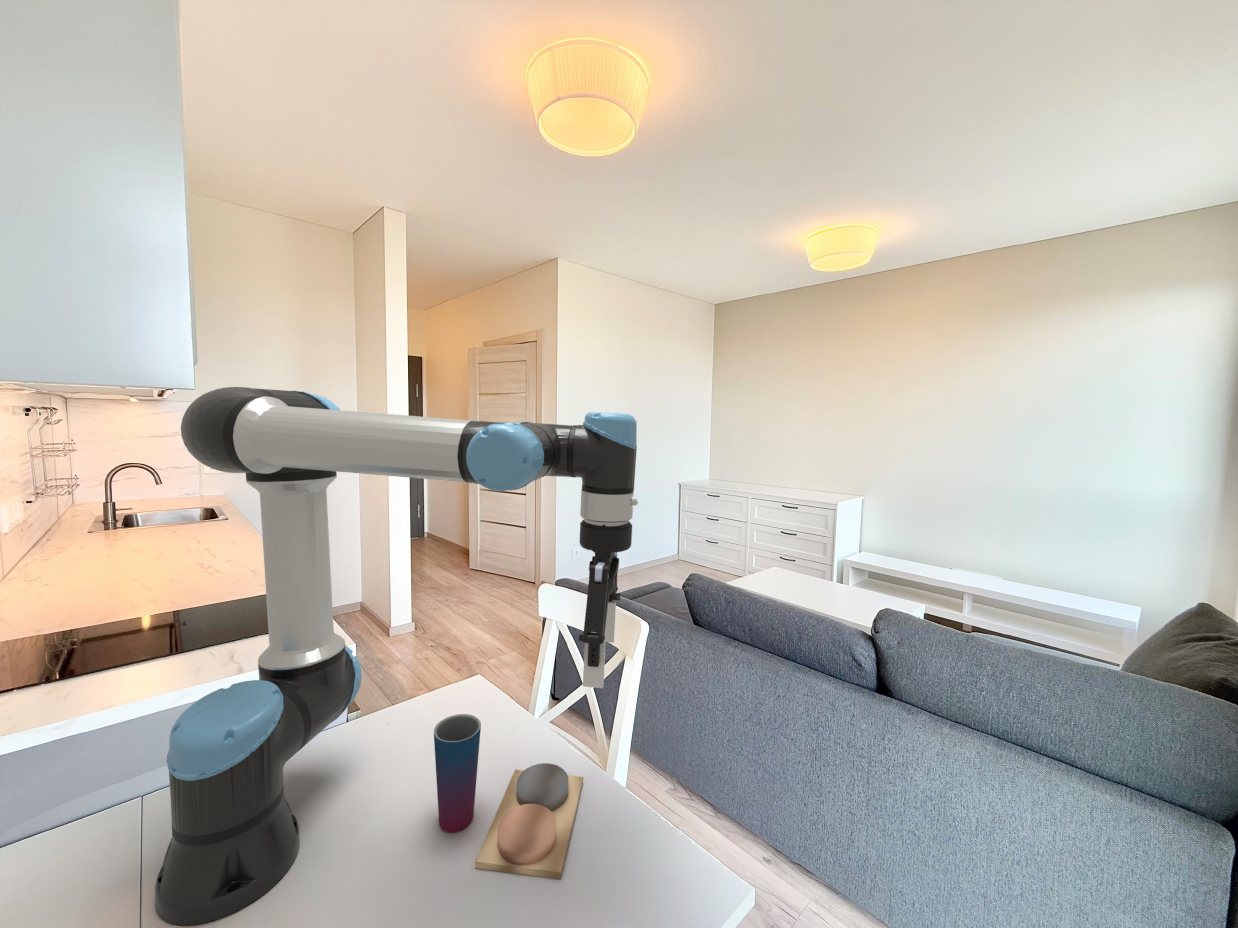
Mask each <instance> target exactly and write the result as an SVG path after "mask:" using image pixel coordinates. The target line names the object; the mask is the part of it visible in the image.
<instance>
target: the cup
mask: <svg viewBox="0 0 1238 928" xmlns="http://www.w3.org/2000/svg"><path fill="white" fill-rule="evenodd" d="M481 729H482V724H481V720H480V719H479V718H478V717H477V716H474V715H472V714H467V713H461V714H460V713H459V714H458V713H457V714H454V715H449V716H447V717H445V718H443V719H441V720H440V721H439V722H438V723H437V724H435V726H434V728H433V741H434V744H433V745H434V758H435V776H436V777H435V778H436V791H437V792H436V794H437V810H438V811H437V813H438V825H439V828H440V829H441V830H442V831H444V832H445V833H450V834H451V833H452V834H454V833H458V832H461V831H464V830H465V829H467V828H468V827H469V826H470V825H471V823H472V822H473V820H474V814H475V813H474V812H475V811H474V810H475V801H476V800H475V799H476V787H477V779H478V778H477V777H478V765H479V753H480V739H481Z"/></svg>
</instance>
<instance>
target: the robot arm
mask: <svg viewBox="0 0 1238 928" xmlns="http://www.w3.org/2000/svg"><path fill="white" fill-rule="evenodd" d="M637 425H638V424H637V420H636V418H635V417H634V416H633V415H631V414H628V413H621V412H619V413H618V412H617V413H616V412H597V411H596V412H595V411H593V412H591V411H590V412H587V413H586V414H585V416H584V420H583V423H582V424H573V425H570V424H555V423H542V422H541V423H540V422H530V421H519V422H499V421H496V422H495V421H487V420H486V421H484V420H479V421H478V420H469V419H456V418H443V417H429V416H418V415H407V414H406V415H404V414H393V413H382V412H381V413H378V412H366V411H365V412H364V411H353V410H342V409H340V407H338V406H337V405H336V404H335V403H334V402H333V401H332V400H330V399H328V398H326V397H324V396H322V395H319V394H314V393H310V392H306V391H300V390H299V391H298V390H285V389H284V390H281V389H280V390H279V389H265V388H254V387H244V386H229V387H228V386H227V387H226V386H225V387H221V388H216V389H214V390H211V391H207V392H206V393H203V394H202V395H200V396H198V397H197V398H196V399H194V400H193V401H192V402H191V403H190V404H189V406H187V408H186V410H185V412H184V414H183V416H182V419H181V424H180V434H181V438H182V441H183V444H184V446H185V448H186V450H187V451H188V452H189V454H190V455H191V456H193V458H194V459H195V460H197V461H198V462H199V463H201V464H203V466H205V467H208V468H210V469H212V470H215V471H218V472H222V473H229V474H245V481H246V483H247V484H248V486H251V487H252V488H254V490H255V491H257V492H258V494H259V502H260V503H259V504H260V519H261V534H262V550H263V551H262V553H263V565H264V580H265V583H264V584H265V594H266V595H265V596H266V610H267V611H266V612H267V614H266V615H267V627H268V642H269V644H268V645H269V646H267V648H266V649H265V650H264V651H263V652H261V654H260V655H259V656H258V659H257V667H258V669H257V670H258V679H252V680H245V681H241V682H236V683H233V684H231V685H230V686H229V687H227V688H223V687H221V688H218V689H217V690H214V691H212V692H209V693H208V694H206V695H204V696H202V697H201V698H199V699H198V700H196V701H194V703H192V704H190V706H188V707H187V708H186V709H185V710H184V711H182V713H181V715H179V717H178V718H177V719H176V721H175V722H174V724H173V726H172V728H171V730H170V733H169V741H168V742H169V747H168V750H167V751H168V752H167V755H166V763H167V769H168V776H169V777H168V778H169V793H170V809H171V810H170V812H171V815H170V816H171V834H172V835H171V838H170V840H169V844H168V847H167V850H166V853H165V855H164V859H163V861H162V866H161V868H160V870H159V872H158V875H157V878H156V882H155V885H154V897H155V898H154V899H155V910H156V912H157V913H158V915H159V917H160V918H162V919H163V920H164V921H166V922H169V923H170V924H174V925H180V926H181V925H182V926H187V925H188V926H189V925H199V924H204V923H208V922H211V921H215V920H219V919H221V918H224V917H227V916H229V915H231V914H233V913H235V912H238V911H239V910H241V909H243V908H245V907H246V906H249V904H251V903H253V902H254V901H256V900H257V899H259V898H261V897H262V896H263V895H264V894H266V893H267V892H268V891H270V890H271V888H274V887H275V885H276V884H277V883H279V882H280V880H282V878H283V877H284V876H285V875H286V874H287V872H288V871H289V869H291V867H292V865H293V863H294V862H295V860H296V858H297V856H298V853H299V849H300V842H301V841H300V840H301V839H300V826H299V822H298V819H297V818H296V816H295V815H294V814H293V811H292V809H291V805H290V804H289V802H288V800H287V798H286V796H285V795H284V794H285V793H284V790H285V789H284V782H285V781H284V768H285V764H286V763H287V762H288V761H289V760H290V759H291V758H292V757H294V756H295V755H296V754H297V753H298V752H299V751H300V750H301V749H303V748H304V747H305V746H306V745H308V744H309V743H310V742H311V741H312V740H313V739H314V738H315V737H317V736H318V735H319V734H320V733H321V732H322V731H323V730H325V729H326V728H327V727H328V726H329V725H331V724H332V723H333V722H335V721H336V720H337V719H338V718H339V717H340V716H341V715H342V714H344V712H345V711H346V709H348V707H349V706H350V705H351V704H352V702H353V701H354V700H355V699H356V698H357V695H358V693H359V691H360V688H361V684H362V677H363V675H362V672H363V671H362V666H361V663H360V659H358V656H356V655H354V654H353V652H354V651H353V650H352V649H351V648H350V647H349V646H346V641H345V638H343V636H341V635H339V634H337V633H335V631H334V614H333V611H334V609H333V591H332V573H331V572H332V571H331V554H330V552H331V551H330V536H329V534H330V533H329V531H330V530H329V514H328V495H327V493H328V491H327V489H328V487H329V486H330V484H331V483H333V482H334V481H335V480H336V479H337V477H338V475H337V473H350V474H363V475H374V476H375V475H376V476H385V477H386V476H388V477H398V478H410V479H411V478H412V479H421V480H422V479H423V480H424V479H425V480H434V481H435V480H436V481H445V482H447V481H448V482H449V481H450V482H456V483H457V482H458V483H459V482H460V483H468V484H475V485H481V486H482V487H484V488H486V489H488V490H491V491H494V492H506V491H517V490H519V489H520V490H521V489H522V488H525V487H527V486H528V485H529V484H531V483H533V482H535V481H537V480H540V479H542V478H544V477H565V478H567V477H568V478H581V483H582V484H581V491H580V493H581V494H580V511H579V513H580V514H579V515H580V517H581V518H582V520H581V522H579V523H580V524H579V525H580V526H579V545H580V546H581V547H582V548H583V549H585V550H586V551H592V552H593V553H594V555H593V556H592V557H591V558H592V559H591V560H590V561H589V565H588V571H589V574H588V575H589V577H588V585H587V586H588V587H587V596H586V598H587V599H586V605H585V616H584V626H583V633H582V634H579V637H578V640H579V642H582V643H583V644H584V650H583V653H584V654H583V655H584V656H583V672H582V673H583V676H582V687H586V688H593V689H594V688H596V689H604V685H605V683H604V681H605V664H606V662H605V660H606V644H607V643H613V644H614V642H615V629H616V612H617V611H616V610H617V609H616V608H617V607H616V606H617V602H616V601H618V602H620V601H621V593H619V592H618V590H619V587H618V573H619V568H620V567H619V566H620V558H619V557H618V553H620V552H621V553H622V552H625V551H627V550H629V549H630V548H631V547H632V541H633V540H632V539H633V524H632V523H631V522H630V520H632V519H633V513H634V511H633V510H634V508H633V506H634V507H635V506H637V505H638V504H639V503H638V499H637V498H633V497H634V491H635V478H636V462H637V451H638V450H637V448H638V445H637V431H638V430H637V429H638V428H637V427H638V426H637ZM617 592H618V593H617Z"/></svg>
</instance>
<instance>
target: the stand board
mask: <svg viewBox="0 0 1238 928" xmlns="http://www.w3.org/2000/svg"><path fill="white" fill-rule="evenodd" d="M583 785H584V776H577V775H571V774H570V775H568V773H567V772H566V771H565V769H564V768H562V767H561V766H559V765H557V764H554V763H548V762H547V763H545V762H544V763H542V762H541V763H537V764H534V765H531V766H529V767H527V768H525V769H524V770H523V769H514V772H513V774H512V776H511V779H510V780H509V783H508V785H507V787H506V790H505V792H504V795H503V797H502V799H501V802H500V804H499V805H498V809H497V810H496V813H495V815H494V818H493V819H492V822H491V825H490V827H489V830H488V831H487V834H486V837H485V838H484V840H483V843H482V845H481V847H480V850H479V852H478V854H477V857H476V860H475V863H474V868H475V869H478V870H479V869H481V870H488V871H493V872H502V873H509V874H518V875H525V876H534V877H541V878H547V879H548V878H549V879H557V880H561V879H562V876H563V871H564V866H565V863H566V858H567V854H568V849H569V844H570V841H571V836H572V832H573V827H574V823H575V819H576V814H577V810H578V806H579V801H580V797H581V793H582V789H583Z"/></svg>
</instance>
